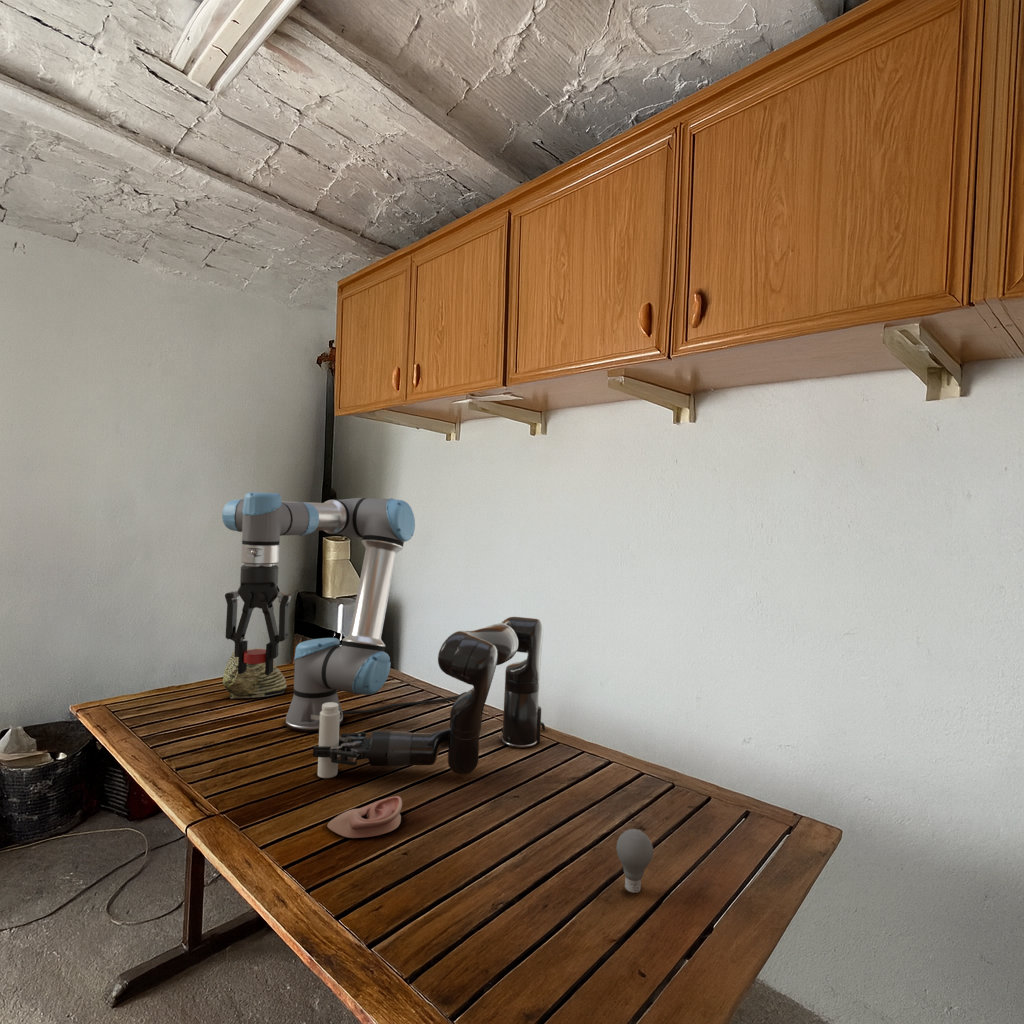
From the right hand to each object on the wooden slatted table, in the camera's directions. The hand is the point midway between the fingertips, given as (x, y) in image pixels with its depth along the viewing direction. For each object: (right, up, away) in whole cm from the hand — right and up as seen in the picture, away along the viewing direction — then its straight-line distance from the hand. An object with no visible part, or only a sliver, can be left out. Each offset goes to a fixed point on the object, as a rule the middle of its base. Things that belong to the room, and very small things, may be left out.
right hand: (316, 747), depth 144 cm
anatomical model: (+16, -7, -21) cm, 28 cm away
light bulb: (+65, -10, -39) cm, 76 cm away
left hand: (-10, +19, -9) cm, 24 cm away
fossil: (-36, -4, +54) cm, 65 cm away
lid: (-10, +23, -9) cm, 27 cm away
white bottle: (+2, -6, 0) cm, 7 cm away
